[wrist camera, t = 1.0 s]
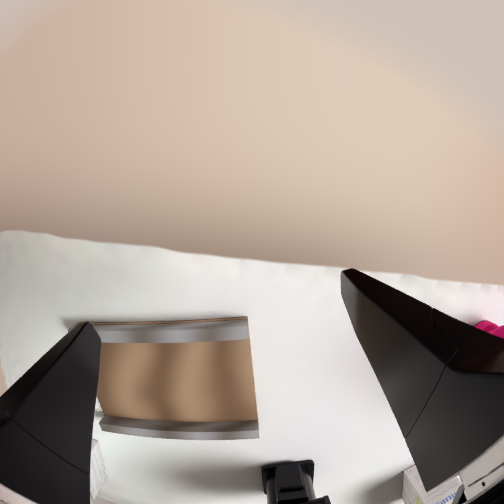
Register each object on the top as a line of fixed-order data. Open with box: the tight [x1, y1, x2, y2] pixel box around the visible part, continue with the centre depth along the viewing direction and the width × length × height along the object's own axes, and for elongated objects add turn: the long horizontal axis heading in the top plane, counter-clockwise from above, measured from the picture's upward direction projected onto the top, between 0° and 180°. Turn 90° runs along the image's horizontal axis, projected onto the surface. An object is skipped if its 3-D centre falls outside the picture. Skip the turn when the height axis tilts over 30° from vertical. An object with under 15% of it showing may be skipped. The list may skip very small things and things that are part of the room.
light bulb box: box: [402, 465, 462, 504], centre depth 24 cm, size 11×7×11 cm, turn 18°
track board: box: [68, 316, 259, 440], centre depth 26 cm, size 18×13×2 cm
